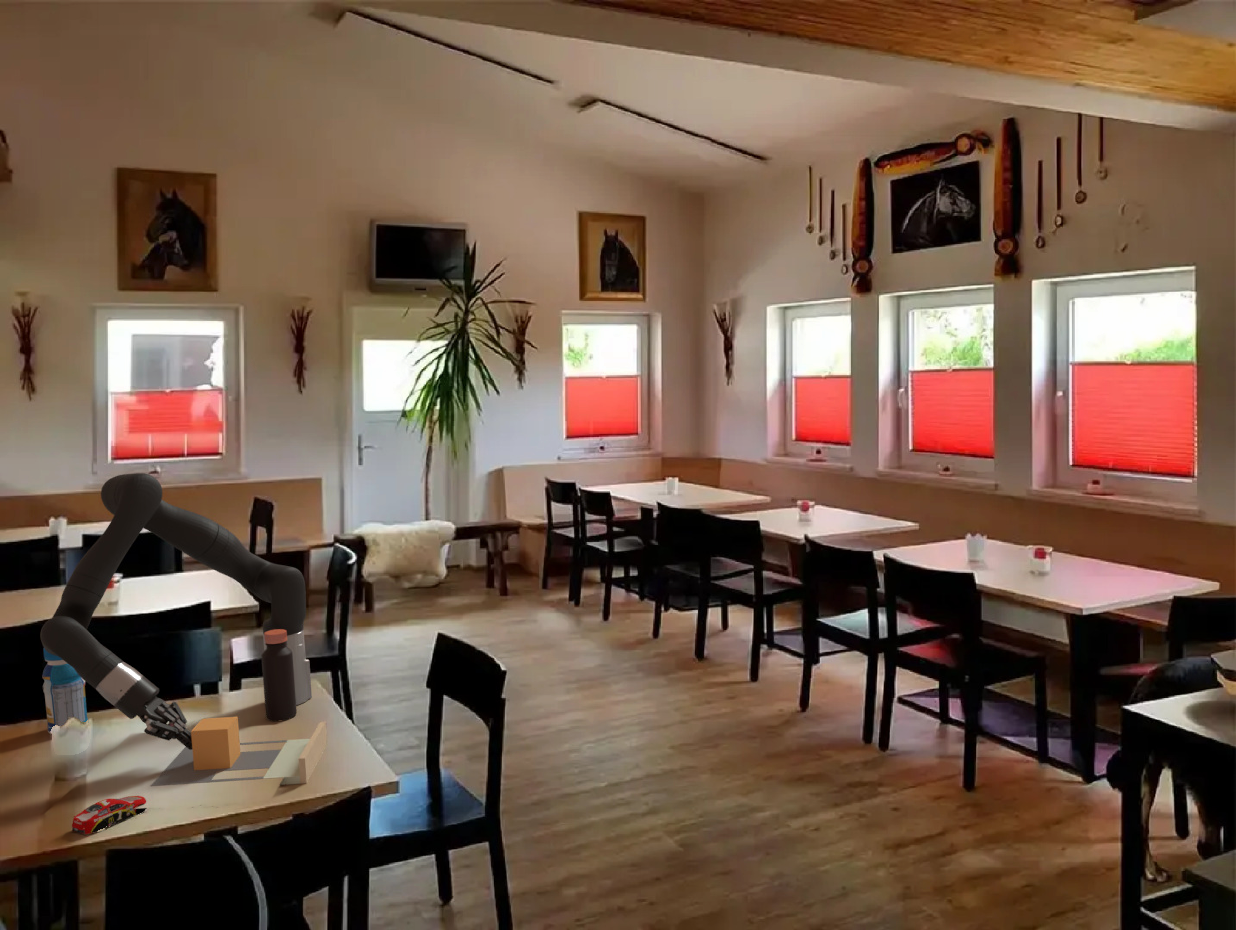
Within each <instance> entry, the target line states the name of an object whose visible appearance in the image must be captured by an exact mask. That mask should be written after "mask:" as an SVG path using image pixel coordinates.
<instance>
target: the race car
mask: <svg viewBox="0 0 1236 930" xmlns="http://www.w3.org/2000/svg"><path fill="white" fill-rule="evenodd" d="M146 803H147V799H146V798H145V797H144V796H141V795H130V796H124V797H121V798H104V799H102V800H99V801H97V802H95V803H93V804H92V805H89V806H88V807H86V808H85V809H84V810H82V811H81V812H79V813H77V814H76V815H75V816H74V817H73V818H72V823H71V828H72V829H71V831H72V832H75V833H78V834H81V835H82V834H83V835H90V834H94V833H93V832H96V831H98V830H100V829H103V828H107V827H108V828H110V827H112V826H114V825H116V824H115V823H117V824H119V823H121V822H124V821H125V820H128V819H130V818H132V817H134V816H136V815H137V816H139V815H141V814H143V813H142V812H143V811H145V812H146V810H147V809H148V808H147V807H141V806H143V805H145V804H146ZM138 807H139V808H138ZM140 813H141V814H140ZM138 814H139V815H138ZM118 822H119V823H118ZM111 825H112V826H111ZM106 826H107V827H106ZM109 826H110V827H109ZM96 833H97V832H96Z"/></svg>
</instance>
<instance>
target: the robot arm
mask: <svg viewBox="0 0 1236 930" xmlns="http://www.w3.org/2000/svg"><path fill="white" fill-rule="evenodd" d="M163 495H164V494H163V487H162V485H161V483H160V482H159V480H158V479H157V478H156V477H155V476H154V475H152V474H149V473H148V474H147V473H143V472H142V473H141V472H138V473H136V472H135V473H134V472H133V473H125V474H118V475H116V476H113V477H111V478H109V479H108V480H107V481H105V482H104V484H103V485H102V487H101V491H100V499H101V501H102V504H103V506H104V507H105V509H106V510H107V511H108V512H109V513H111V514H112V515H113V517H112V519H111V521H110V522H109V524H108V526H107V527H106V529H105V530H104V532H103V533H102V534H101V535H100V536H99V538H98V539H97V540H96V542H94V544H93V545H92V546H91V547H90V548H89V549H88V550H87V552H85V554H84V555H83V556H82V558H81V559H80V561H79V562H78V563H77V564H76V567H75V568H74V570H73V571H72V574H71V575H70V577H69V580H68V581H67V583H66V585H65V587H64V589H63V591H62V594H61V598H60V601H59V604H58V607H57V608H56V610H55V612H54V614H53V616H52V617H51V618H50V619H48V620H46V622H45V623H44V624H43V626H42V627H41V630H40V637H39V638H40V641H41V644H42V647H43V649H44V648H45V650H46V651H47V652H48V653H50V654H52V655H55V656H59V657H60V658H61V659H63V660H64V661H65V662H66V663H68V664H69V665H70V666H72V667H73V668H74V669H75V671H76V672H77V673H78V675H79V676H80V677H81V678H83V679H84V680H85V683H87V684H88V685H90V686H91V687H92V688H93V689H95V690H96V691H97V692H98V693H99V695H100V696H102V697H103V698H104V699H105V700H106V701H107V702H109V703H110V704H111V705H113V707H115V708H116V709H117V710H118V711H119V712H121V713H122V714H123V715H125V716H126V717H127V718H129V720H133V719H135V718H136V717H137V716H138V718H139V719H140V721H142V723H144V724H146V728H145V729H143V732H144V733H146V735H150V736H153V737H156V738H159V739H162V740H165V741H168V742H169V741H171V740H177V741H178V742H180V743H181V744H182V745H184V747H187V748H188V749H190V750H192V737H191V731H190V730H189V729H188V728H187V725H186V724H187V723H188V720H187V718H186V717H185V715H184V713H183V711H182V710H181V708H180V706H179V704H178V703H177V702H176V701H172V702H171V703H167V702H166V701H165V700H164V699H162V698H160V697H159V696H157V695H158V694H159V692H160V688H159V687H157V686H156V685H155V684H154V683H153V682H151V681H150V680H149V679H148V678H146V677H145V676H144V675H143V674H141V673H140V672H139V671H138V669H136V668H134V667H132V666H131V665H129V664H128V663H126V662H124V661H123V660H122V659H121V658H120V657H118V656H117V655H116V654H115V653H113V651H111V650H110V649H108V648H107V647H106V646H104V645H103V644H101V642H99V641H98V640H97V639H96V637H94V636H93V634H91V633H90V632H89V630H88V627H89V625H90V622H91V620H92V618H93V615H94V612H95V611H96V609H97V608H98V606H99V604H100V602H101V601H102V599H103V597H104V595H105V593H106V591H107V589H108V587H109V585H110V583H111V581H112V579H113V577H114V576H115V573H116V571H117V570H118V568H119V567H120V564H121V563H122V561H123V559H124V558H125V556H126V554H127V553H128V551H130V549H131V547H132V545H133V543H134V542H135V541H136V539H137V538H138V536H139V535H140V533H141V532H142V530H147V531H149V532H150V533H152V534H153V535H155V536H157V537H158V538H159V539H161V540H163V541H165V542H166V543H168V544H169V545H171V546H172V547H174V548H175V549H177V550H179V551H181V552H182V553H184V554H185V555H187V556H189V557H190V558H191V559H193V560H195V561H197V562H199V563H201V564H202V565H204V566H206V567H208V568H209V569H212V570H213V571H216V572H218V573H220V574H222V575H224V576H227V577H229V578H231V579H232V580H234V581H235V582H237V583H239V584H240V585H241V586H242V587H244V588H245V589H247V590H248V591H250V593H252V594H253V595H255V597H258V598H259V599H260V600H262V601H264V602H266V603H270V605H271V606H270V609H271V610H270V611H271V615H270V618H268V619H267V618H266V619H265V620H264V621H263V624H262V634H263V635H262V637H263V648H264V649H263V652H264V651H265V650H266V649H267V645H265V638H264V633H265V632H267V631H270V630H275V629H284V630H286V631H287V643H286V646H287V647H288V648H289V649H291V651H292V653H293V666H294V681H295V695H296V706H298V705H301V704H303V703H306V701H308V700H310V699H312V698H313V696H312V679H311V668H310V667H311V666H310V660H309V659H308V658H307V657H306V645H305V632H304V622H305V620H306V615H307V599H306V598H307V594H306V593H307V592H306V591H307V590H306V581H305V578H304V575H303V573H302V572H301V571H300V570H299V569H298V568H296V567H293V566H288V565H282V564H277V563H274V562H270V561H268V560H265V559H263V558H261V557H260V556H258V555H255V554H254V553H252V552H251V551H249V550H248V549H247V548H246V547H245V546H244V544H243V543H242V542H241V541H240V539H239V538H238V537H237V536H236V535H235V534H234V533H233V532H231V531H230V530H229V529H228V528H225V527H224V526H222V525H221V524H219V523H218V522H216V521H214V520H212V519H211V518H209V517H206V516H204V515H201V514H198V513H196V512H194V511H190V510H187V509H185V508H181V507H178V506H175V505H173V504H170V503H169V502H166V501H165V500H164V499H163Z"/></svg>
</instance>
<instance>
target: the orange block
mask: <svg viewBox="0 0 1236 930" xmlns="http://www.w3.org/2000/svg"><path fill="white" fill-rule="evenodd" d="M238 717H239V716H227V717H225V716H224V717H211V718H208V717H207V718H202V719H201V720H200V721H199V722H198V723H197V724H196V725H195V727H193V729H192V730H191V731H190V732H191V737H192V749H193V762H194V770H205V769H221V768H231V766H232V765H233V764H234V762H235V761H236V760H237V758H238V757H239V756H240V754H241V753H240V752H241V745H240V743H241V742H240V729H239V718H238Z"/></svg>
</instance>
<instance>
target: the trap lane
mask: <svg viewBox="0 0 1236 930" xmlns="http://www.w3.org/2000/svg"><path fill="white" fill-rule="evenodd" d="M327 734H328V733H327V721H320V722H319V723H318V725H317V726H316V728H315V730H314V731H313V734H312V735H311V737H310V738H298V739H284V740H283V739H282V740H269V741H267V740H265V741H252V742H251V741H249V742H240V746H244V745H245V746H246V745H260V744H263V745H264V744H276V743H277V744H278V743H284V745H283V746H282V748H281V749H267V750H266V749H265V750H264V749H263V750H251V751H240V753H241V754H240V756H239V757H238V758H237V760H236V761H235V762H234V764H233V765H232V766H231V768H221V769H205V770H194V762H193V749H192V750H190V749H188V748H187V747H186V746H184V748H183V749H182V750H181V751H180V752H179V753H178V754H177V755H176V756H175V758H174V759H173V760H172V761H171V762H170V763H169V764H168V766H167V767H165V769H164V770H163V771H162V772H161V773H160V774H159V775H158V777H157V778H156V779H155V780H154V781H153V783H151V784H150V787H157V786H171V785H172V786H174V785H185V784H186V785H188V784H203V783H204V784H205V783H220V782H221V783H222V782H232V781H233V782H234V781H248V780H249V781H250V780H261V779H265V780H266V779H278V778H279V779H280V778H281V779H282V780H281V782H280V784H279V785H280V786H282V785H283V786H284V785H285V784H286V785H299V784H307V783H308V781H309V779H310V778H311V776H312V774H313V772H314V770H315V768H316V767H317V764H318V763H319V761H320V759H321V757H322V755H323V753H324V752H325V750H324V749H327V748H326V747H327V746H328V735H327ZM259 769H268V770H267V772H266V773H265V774H264V776H263V775H262V776H251V777H250V776H249V777H247V776H246V777H234V778H221V779H220V778H219V779H214V777H215V776H216V774H217V773H218V772H227V771H228V772H229V771H243V770H244V771H245V770H259Z"/></svg>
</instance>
